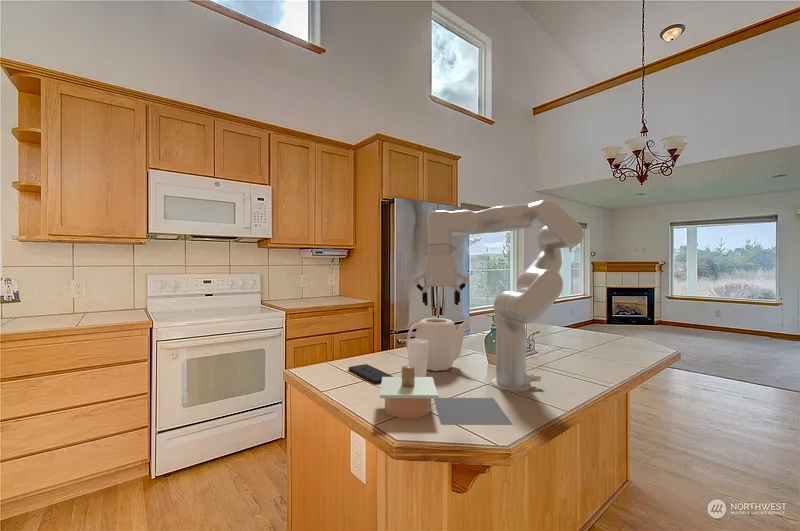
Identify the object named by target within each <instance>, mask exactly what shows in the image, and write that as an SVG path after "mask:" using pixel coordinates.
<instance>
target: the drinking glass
mask: <svg viewBox="0 0 800 531" xmlns="http://www.w3.org/2000/svg"><path fill="white" fill-rule="evenodd" d="M407 356H408V366H414V367H415V377H427V375H428V374H427V372H428V371H427V363H428V340H425V339H415V338H410V340H409V341H408V350H407Z"/></svg>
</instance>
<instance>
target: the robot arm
mask: <svg viewBox="0 0 800 531" xmlns="http://www.w3.org/2000/svg"><path fill="white" fill-rule="evenodd" d="M537 228H541V229H540V230H539V232H538V234H537V242H538V253H537V254H538V255H537V257H535V259H534V260H533V261H532V262H531V263H530V265H528V267H527V268H526V269H524V271H523V272H522V273H521V274H520V275H519V277H518V278H517V280H516V289H517V290H518V291H514V290H505V291H502V292H500V293H499V294H497V296H496V297H495V299H494V301H493V312H494V318H495V329H496V330H495V331H496V333H495V335H496V336H495V337H496V338H495V339H496V340H495V377H494V378H492V379H491V380H490V381H491V382H490V383H491V386H493V387H494V388H496V389H499V390H503V391H506V392H507V391H508V392H526V391H529V390H530V389H531V388H532V387H531V386H532V385H531V384H532V382H541V381H542V378H541V377H542V376H541V375H538V374H537V375H535V374H534V373H528V372H527V366H526V364H527V361H526V360H527V354H526V353H527V331H526V330H527V329H526V326H525V325H528V324H529V325H530V324H533V323H535V322H538V320H539V319H541V318H542V317H543V315H545V314H546V312H547V311H548V310H549V309H550V308H551V306H552V305H553V304H554V303H555V302H556V301H557V300H558V298H559V297H560V296H561V293H562V290H563V287H564V281H563V278H562V276H561V274H560V273H559V272H560V270H561V268H562V265H563V259H562V251H561V249H566V248H574V247H576V246H579V245H580V244H581V243H582V241H583V239H584V236H585V235H584V229H583V227H582V225H581V224H580V223H579V222H578V221H577V220H576V219H575V218H574V217H573V216H572V215H570V213H568V212H567V211H565V209H564V208H562V207H561V206H560V205H558V204H557V203H555V202H554V201H552V200H549V199H542V200H539V201H534V202H531V203H520V204H511V205H510V204H509V205H499V206H495V207H490V208H487V209H482V210H479V211H471V210H468V209H462V210H454V211H448V210H433V211H430V212H429V213H428V215H427V245H428V246H427V251H428V252H427V254H428V255H427V254H426V255H425V259H424V270H423V271H424V272H423V273H422V274H419V275H418V276H416V277H414V278H413V283H414V284H415V286H416V288H417V289H418V290H419V291H420V292H421V293H422V294H421V295H422V296H421V299H422V304H424V306H425V307H427V306H428V305H429V304H428V293H427V291H428V290H429V288H430V287H432V288H433V287H434V288H441V287H443V288H444V287H452V288H453V289H454V292H453V297H454V302H453V303H454V305H456V306H459V303H460V302H461V292H462V291H463V289H464V288H466V285H467V284H468V281H469V278H468V276H465V275H464V274H461V273H459V272H458V270H457V269H458V268H457V262H456V257H455V254H453V253H454V252H457V251H458V248H457V246H454V245H453V237H458V236H460V237H461V236H466V235H467V236H469V235H475V234H476V235H477V234H487V233H490V234H491V233H492V234H493V233H494V234H495V233H501V232H502V233H503V232H511V231H521V230H527V229H529V230H531V229H537ZM458 278H459V279H461V283H460V284H459V285H458ZM421 280H423V282H424V286H422V285H421V283H420V281H421Z"/></svg>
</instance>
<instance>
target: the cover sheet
mask: <svg viewBox="0 0 800 531" xmlns="http://www.w3.org/2000/svg"><path fill="white" fill-rule="evenodd" d="M436 387H437V386H436V384H435V380H434V377H433V376H426V377H415V367H414V366H409V365H402V366H401V376H394V377H382V383H380V391H379V399H385V398H431V399H434V398H439V394H438V391H437V388H436Z"/></svg>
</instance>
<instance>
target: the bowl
mask: <svg viewBox="0 0 800 531" xmlns="http://www.w3.org/2000/svg"><path fill="white" fill-rule="evenodd" d="M431 411H432V398H384V413H385V414H387V415H390V416H392V417H395V418H396V417H397V418H399V419H417V418H421V417H425V416H427V415H428V414H430V413H431Z"/></svg>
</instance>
